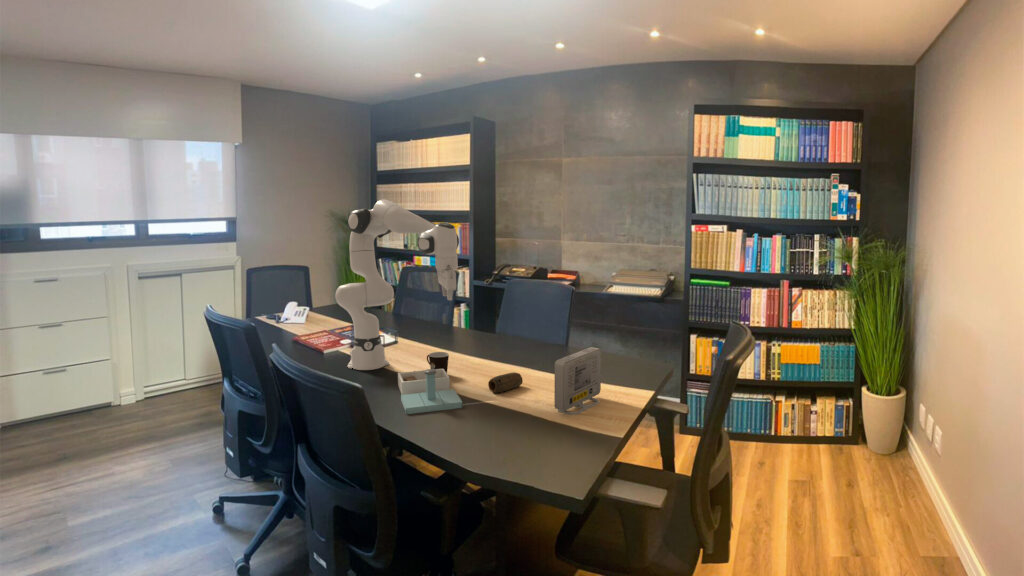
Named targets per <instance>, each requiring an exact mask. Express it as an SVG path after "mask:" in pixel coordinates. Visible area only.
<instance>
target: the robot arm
mask: <svg viewBox="0 0 1024 576" xmlns="http://www.w3.org/2000/svg"><path fill="white" fill-rule="evenodd" d="M349 213H350V214H349V216H348V218H347V224H348V229H349V230H350V231H351V232H350V235H349V245H348V246H349V263H350V269H351V271H352V272H353V273H355V274H357V275H358V276H361V277H363V278H364V280H365V281H364V282H352V283H351V282H350V283H346V284H342V285H339V286H338V288H337V289H336V291H335V301H336V303H337V305H339V306H340V307H341V308H343V309H344V310H345V311H347V313H348V314H349V316H350V317H351V319H352V323H353V331H354V336H353V345H354V346H353V347H352V349H351V350H350V351H349V354H350V361H349V362H348V364H347V366H346V367H348V368H347V369H352V368H353V370H357V371H372V370H378V369H381V368H383V367H384V366H388V365H390V362H389V361H388V359H386V355H385V347H384V346H383V345H382V344H381V343H382V341H381V339H382V338H381V335H380V323H379V322H380V321H379V319H378V317H377V316H376V315H374V314H372V313H369V312H368V311H366V310H365V308H366V307H379V306H384V305H388V304H390V303H391V302H392V301H393V300H394V296H395V289H394V288H393V286H392V285H391V283H389V282H388V281H386V280H385V279H384V278H383V277H382V276H381V274H380V272H379V271H378V268H377V263H376V261H377V260H376V254H375V252H376V251H375V245H374V244H375V239H376V238H379V239H382V238H384V237H385V236H387V235H389V234H391V233H392V232H394V233H397V234H418V237H417V248H418V250H419V251H420V253H421V254H422V255H429V256H430V255H435V256H434V257H435V258H434V260H435V261H434V262H435V263H434V265H435V269H436V275H437V282H438V284H440V285H441V290H442V296H443V297H446V299H447V300H448V301H453V295H454V291H456V290H457V273H456V269H458V268H459V266H458V265H459V264H458V263H459V261H458V253H457V250H458V247H459V245H460V238H459V235H458V233H457V230H456V227H455V225H453V224H451V223H448V222H446V223H445V222H440V223H439V222H438V223H434V222H432V221H430V220H428V219H425V218H424V217H421V216H420V215H417V214H415V213H413V212H411V211H410V210H408V209H406V208H404V207H403V206H401V205H399V203H396V202H394V201H391V200H388V199H384V198H383V199H380V200H377V202H376V203H375V204H374V205H373V208H372V209H367V208H366V207H365V208H361V209H354V210H353V211H351V212H349Z"/></svg>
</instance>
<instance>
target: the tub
mask: <svg viewBox="0 0 1024 576" xmlns="http://www.w3.org/2000/svg"><path fill="white" fill-rule="evenodd" d="M435 370H436V374H435V377H436V378H435V391H443V390H451V385H450V384H451V383H450V381H451V379H450V376H449V374H448V372H447V373H446V372H445V370H444V369H435ZM424 371H425V369H424V370H423V369H422V370H415V371H414V370H412V371H405V372H397V385H398V388H399V391H400V393H401V395H406V394H415V393H424V392H426V374H425V373H424ZM410 376H414V377H415V378H417V380H414V381H404V377H410Z"/></svg>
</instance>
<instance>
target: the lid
mask: <svg viewBox="0 0 1024 576" xmlns="http://www.w3.org/2000/svg"><path fill="white" fill-rule="evenodd" d="M424 370H425V369H424ZM424 373H425V374H426V392H424V393H415V394H406V395H402V394H401V395H400V401H401V403H402V406H403V408H404V413H405V415H411V414H420V413H428V412H437V411H446V410H447V411H448V410H455V409H462V408H463V407H464V405H463V401H462V399H461V397H460V396H459V394H458V393H457V392H456V390H455V388H454V389H450V390H443V391H435V374H436V370H435V369H431V368H430V369H429V368H426V370H425V371H424ZM463 409H464V408H463Z"/></svg>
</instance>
